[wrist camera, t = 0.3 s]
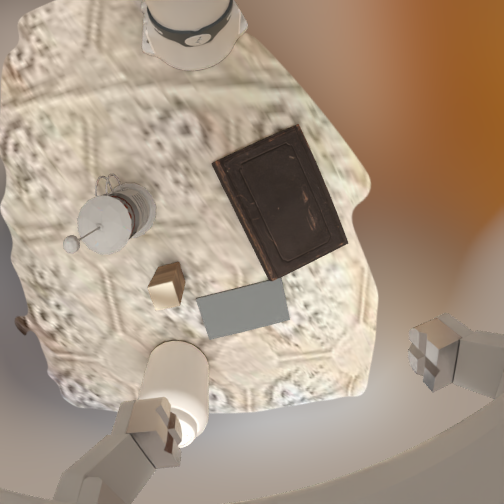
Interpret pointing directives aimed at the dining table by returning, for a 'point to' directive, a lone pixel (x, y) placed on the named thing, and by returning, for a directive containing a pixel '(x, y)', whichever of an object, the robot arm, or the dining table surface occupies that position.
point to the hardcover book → (281, 202)
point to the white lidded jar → (180, 385)
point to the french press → (113, 218)
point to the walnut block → (167, 286)
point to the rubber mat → (243, 308)
